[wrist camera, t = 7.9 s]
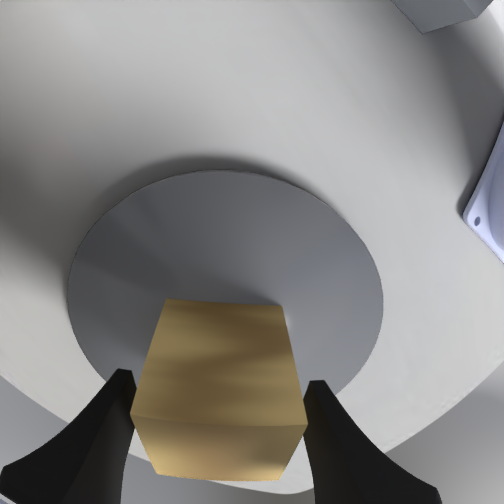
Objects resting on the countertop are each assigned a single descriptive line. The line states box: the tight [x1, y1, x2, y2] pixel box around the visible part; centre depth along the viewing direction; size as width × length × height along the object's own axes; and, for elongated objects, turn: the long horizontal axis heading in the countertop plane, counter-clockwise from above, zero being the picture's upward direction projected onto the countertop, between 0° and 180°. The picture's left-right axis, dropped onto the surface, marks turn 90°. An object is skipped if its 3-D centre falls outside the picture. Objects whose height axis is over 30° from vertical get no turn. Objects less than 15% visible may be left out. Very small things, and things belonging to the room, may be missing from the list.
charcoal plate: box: [67, 170, 383, 398], centre depth 14 cm, size 16×16×1 cm
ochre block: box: [130, 298, 308, 481], centre depth 11 cm, size 5×5×6 cm
